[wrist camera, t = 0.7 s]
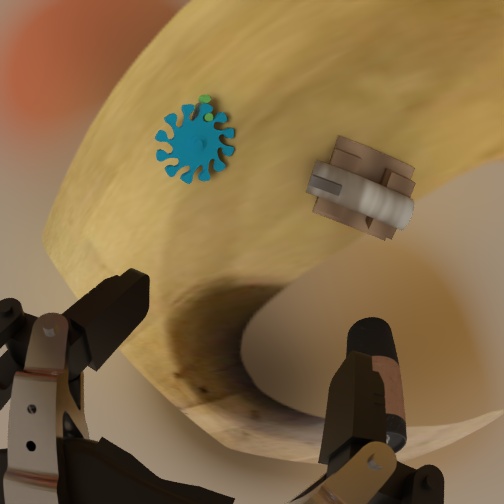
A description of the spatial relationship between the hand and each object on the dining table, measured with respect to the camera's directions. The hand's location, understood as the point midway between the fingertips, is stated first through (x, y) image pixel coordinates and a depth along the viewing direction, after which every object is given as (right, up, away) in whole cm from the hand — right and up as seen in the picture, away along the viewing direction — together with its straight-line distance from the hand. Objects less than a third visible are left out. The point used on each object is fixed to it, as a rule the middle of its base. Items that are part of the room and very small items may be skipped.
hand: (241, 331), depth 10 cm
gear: (-5, +18, +25) cm, 31 cm away
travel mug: (+19, -10, +30) cm, 37 cm away
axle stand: (+13, +11, +22) cm, 28 cm away
